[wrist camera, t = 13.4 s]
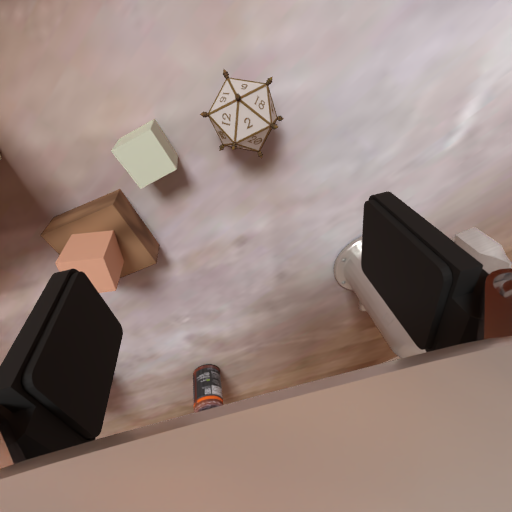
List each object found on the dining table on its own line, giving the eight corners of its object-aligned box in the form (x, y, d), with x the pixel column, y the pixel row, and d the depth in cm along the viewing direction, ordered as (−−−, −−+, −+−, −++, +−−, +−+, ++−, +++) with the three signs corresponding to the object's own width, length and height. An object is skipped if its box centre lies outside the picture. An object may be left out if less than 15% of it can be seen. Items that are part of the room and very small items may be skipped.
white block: (454, 260, 60) (494, 294, 52) (455, 234, 56) (499, 267, 48) (472, 252, 60) (515, 286, 52) (474, 226, 56) (521, 258, 48)
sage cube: (178, 155, 39) (176, 169, 35) (145, 173, 40) (140, 188, 36) (154, 118, 36) (150, 129, 32) (119, 138, 37) (111, 151, 33)
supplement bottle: (202, 382, 70) (204, 433, 61) (187, 370, 66) (187, 423, 57) (224, 371, 69) (230, 422, 60) (211, 359, 65) (214, 411, 56)
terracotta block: (124, 261, 41) (116, 290, 37) (85, 265, 41) (72, 296, 36) (113, 230, 38) (103, 257, 34) (71, 234, 38) (55, 263, 33)
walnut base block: (159, 243, 47) (156, 263, 43) (101, 267, 47) (93, 288, 43) (120, 188, 41) (112, 204, 37) (54, 216, 41) (40, 235, 37)
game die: (249, 98, 40) (312, 115, 35) (219, 156, 41) (275, 180, 36) (208, 45, 32) (281, 57, 27) (171, 117, 33) (235, 142, 28)
